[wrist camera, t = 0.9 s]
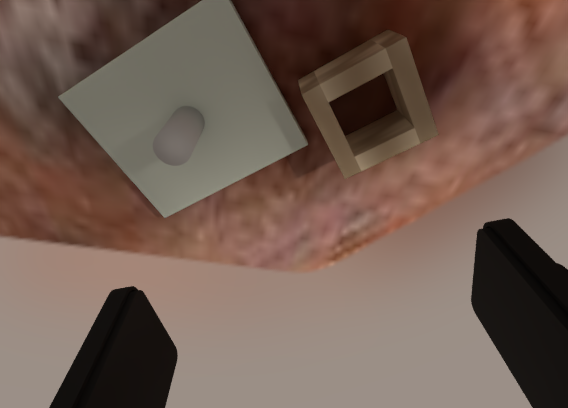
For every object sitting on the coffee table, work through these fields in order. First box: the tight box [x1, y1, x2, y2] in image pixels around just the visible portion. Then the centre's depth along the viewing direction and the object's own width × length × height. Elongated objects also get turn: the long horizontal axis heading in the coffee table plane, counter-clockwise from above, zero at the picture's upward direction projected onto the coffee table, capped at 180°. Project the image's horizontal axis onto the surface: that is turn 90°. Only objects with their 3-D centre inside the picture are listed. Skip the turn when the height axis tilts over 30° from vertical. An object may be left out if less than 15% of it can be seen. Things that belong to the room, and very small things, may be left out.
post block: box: [58, 0, 308, 218], centre depth 25 cm, size 14×12×6 cm
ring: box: [298, 30, 439, 179], centre depth 25 cm, size 7×7×4 cm
